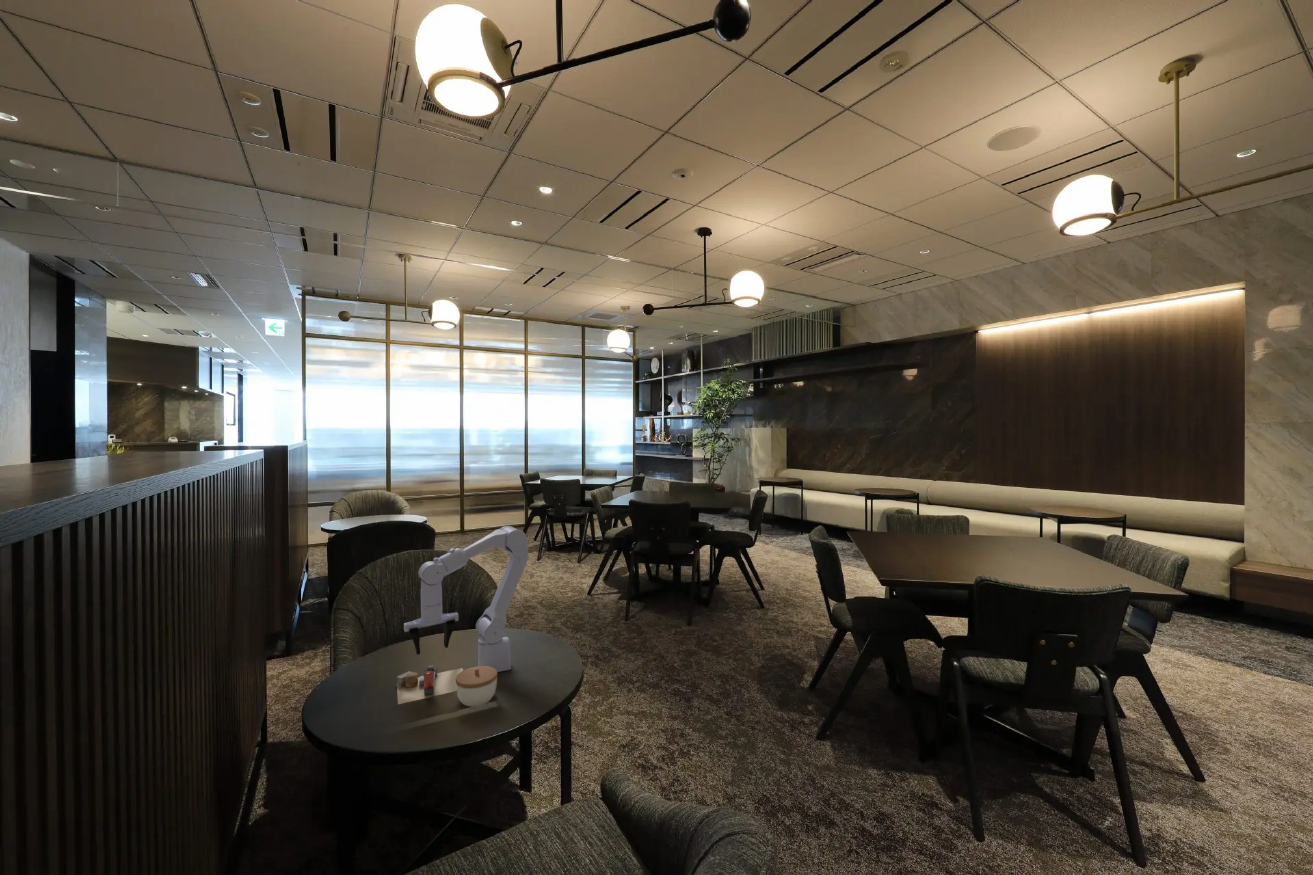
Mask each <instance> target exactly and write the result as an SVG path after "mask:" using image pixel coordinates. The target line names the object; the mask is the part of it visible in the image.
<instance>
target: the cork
mask: <svg viewBox="0 0 1313 875" xmlns="http://www.w3.org/2000/svg"><path fill="white" fill-rule="evenodd" d="M412 672H413V671H412ZM418 677H419V674H418V672H413V673H409V674H407V675H406V688H414V687H416V686H417V685H418Z"/></svg>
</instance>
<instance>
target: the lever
mask: <svg viewBox="0 0 1313 875" xmlns="http://www.w3.org/2000/svg"><path fill="white" fill-rule="evenodd" d="M437 673H438V668H437V667H435V666H434V670H431V671H428V670H427V668H426V669H424V670H423V675H420V676H419V677H420V678H419V686H423V685H424V695H428V694H434V683H435V676H436V675H437Z"/></svg>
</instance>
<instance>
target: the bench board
mask: <svg viewBox="0 0 1313 875" xmlns="http://www.w3.org/2000/svg"><path fill="white" fill-rule="evenodd" d="M434 667H435V665H434V664H431V665H428V666H427V667H426V669H427V670H428V671H431V670H434ZM462 671H464V669H463V667H460V668H457V669H456V668H455V669H451V670H450V669H449V670H446V671H442V672H437V675H436V676H435V683H434V694H428V695H424V685H423V686H419V678H420V676H418V685H417V686H416V687H414V688H406V675H407V674H409V673H413V671H406V672H404V673H402V674H400V675H398V676H396V690H397V693H396V694H397V706H398V705H402V704H407V703H412V702H416V701H419V700H423V699H428V698H433V697H437V696H441V695H442V696H443V695H446V694H451V693H454V692H457V690H456V676H457V675H458V674H459V673H460V672H462Z"/></svg>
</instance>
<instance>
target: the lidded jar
mask: <svg viewBox="0 0 1313 875" xmlns="http://www.w3.org/2000/svg"><path fill="white" fill-rule="evenodd" d="M497 685H498V672H497V670H496V669H495V668H493V667H490V666H478V665H477V666H473V667H469V668H465V669H463V671H462V672H460V673H459V674H458V675H457V676H456V690H457V691H456V695H457V697H458V700H459V701H460V703H461V704H462V705H464V706H466V707H467V709H470V710H476V709H480V708H481V709H482V708H484V707H485V706H487V705H488V704H489V702H490V700H492V698H493V697H494V695H495V693H496V691H497Z"/></svg>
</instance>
